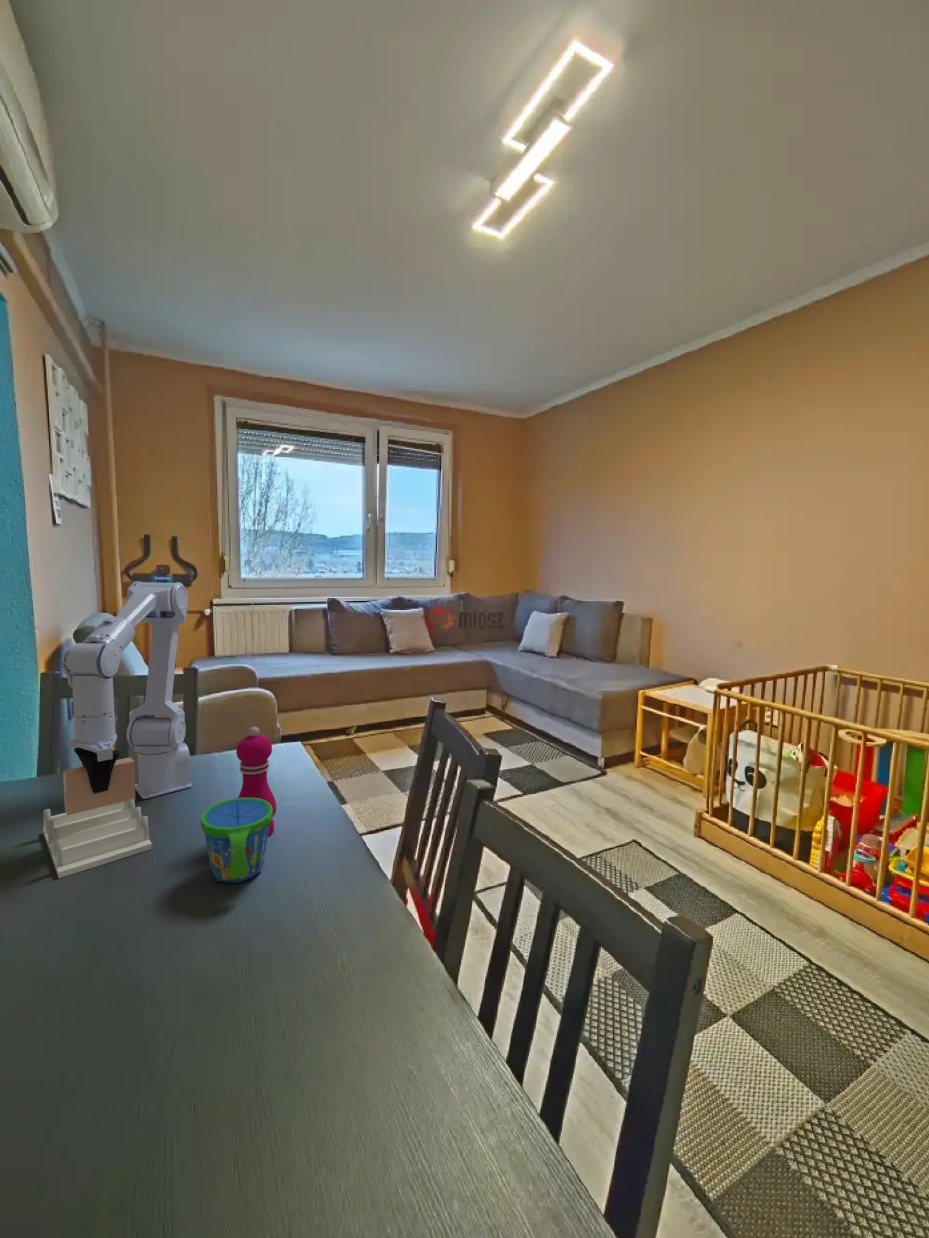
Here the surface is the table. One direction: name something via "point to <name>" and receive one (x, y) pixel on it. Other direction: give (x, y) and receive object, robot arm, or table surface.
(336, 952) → the table surface
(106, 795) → the tile
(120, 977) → the table surface
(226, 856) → the snack cup
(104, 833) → the dish rack
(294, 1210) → the table surface
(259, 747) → the pepper mill
